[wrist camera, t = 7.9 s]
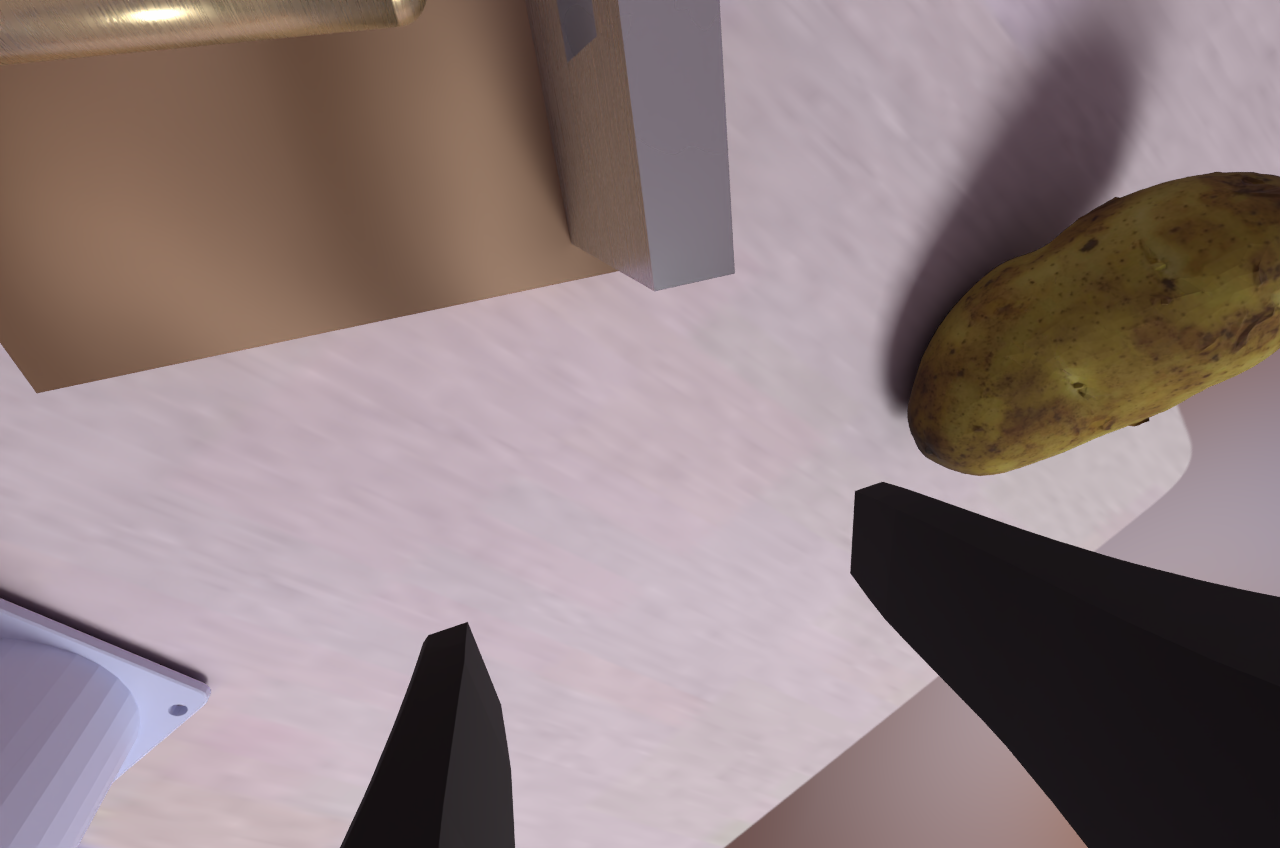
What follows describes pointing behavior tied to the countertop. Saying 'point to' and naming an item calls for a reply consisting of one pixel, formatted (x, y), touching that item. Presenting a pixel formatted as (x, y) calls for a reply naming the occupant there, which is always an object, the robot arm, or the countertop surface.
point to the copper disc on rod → (178, 24)
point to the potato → (1104, 324)
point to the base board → (272, 190)
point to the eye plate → (639, 133)
